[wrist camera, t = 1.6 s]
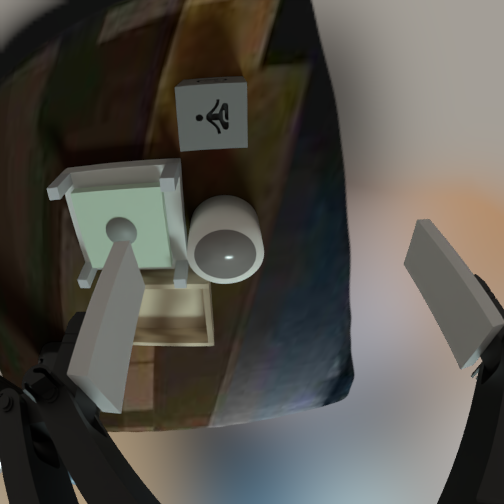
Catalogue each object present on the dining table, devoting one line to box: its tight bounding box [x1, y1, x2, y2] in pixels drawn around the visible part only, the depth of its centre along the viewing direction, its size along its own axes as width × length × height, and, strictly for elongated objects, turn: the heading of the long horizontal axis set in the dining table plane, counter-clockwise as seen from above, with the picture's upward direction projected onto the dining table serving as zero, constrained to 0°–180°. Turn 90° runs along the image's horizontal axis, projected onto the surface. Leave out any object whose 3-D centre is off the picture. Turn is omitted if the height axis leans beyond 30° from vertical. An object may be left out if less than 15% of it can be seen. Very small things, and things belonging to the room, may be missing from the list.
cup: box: [187, 195, 264, 284], centre depth 30 cm, size 7×7×5 cm
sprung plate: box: [70, 182, 173, 268], centre depth 28 cm, size 9×9×1 cm
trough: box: [133, 265, 214, 346], centre depth 37 cm, size 12×11×3 cm
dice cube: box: [175, 76, 248, 152], centre depth 22 cm, size 5×5×5 cm
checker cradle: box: [47, 158, 189, 288], centre depth 28 cm, size 12×12×4 cm
